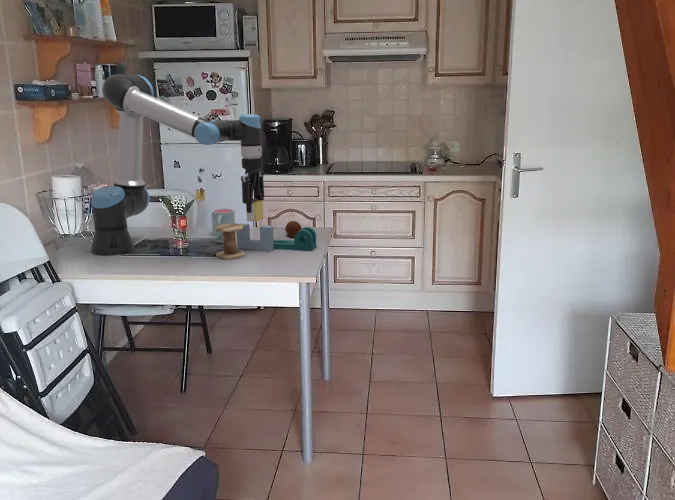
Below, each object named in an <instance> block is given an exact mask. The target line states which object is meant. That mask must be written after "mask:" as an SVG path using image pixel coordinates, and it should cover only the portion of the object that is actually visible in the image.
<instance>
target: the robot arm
mask: <svg viewBox="0 0 675 500" xmlns="http://www.w3.org/2000/svg"><path fill="white" fill-rule="evenodd" d="M101 91H102V96H103V98H104V100H105V101H106V102H107V103H108V104H109V105H110V106H112V107H114V108H115V112H116V113H117V114H118V116H119V125H118V130H119V131H118V159H117V161H118V165H117V166H118V167H117V169H118V171H117V178H115V179H114V181H113V186H106V187H101V188H97V189H95V190H94V191H93V192H92V194H91V198H90V199H91V202H90V203H91V208H92V217H93V225H94V234H93V238H92V244H91V253H92V254H95V255H99V256H113V255H120V254H121V255H122V254H125V253H126V254H127V253H129V252H132V251H133V250H134V249H135V245H134V244H135V243H134V241H133V240H132V236H131V235H130V232H129V229H128V220H127V218H130V217H134V216H137V215H139V214H141V213H143V212H145V210H147V208H148V206H149V204H150V200H151V199H150V193H149V191H148V190H147V188H146V183H145V181H144V180H143V179H142V169H143V168H142V166H143V164H142V163H143V162H142V161H143V138H144V137H143V136H144V135H143V134H144V133H143V131H144V118H147V119H150V120H152V121H155V122H157V123H158V124H162V125H164V126H166V127H168V128H170V129H174V130H176V131H178V132H180V133H183V134H185V135H187V136H190V137H192V138H194V139H195V140H196V141H197V142H198V143H199V144H201V145H204V146H211V145H214V144H217V143H222V142H240V155H241V157H242V158H241V168H242V169H244V170H245V171H244V175H242V176H240V181H241V192H242V194H241V195H242V197H241V198H242V204H243V205H245V206H246V207H245V208H246V222H252V221H254V204H252V200H253V199H257V200H259V201H264V200H265V185H264V171H261V170H260V169H261V168H263V158H262V156H263V154H262V152H263V148H262V126H261V125H262V124H261V117H260V116H259V114H255V113H254V114H251V113H249V114H247V113H246V114H240V115H239V119H235V120H234V119H233V120H232V119H213V120H209V119H205V118H204V117H202V116H199V115H197V114H194V113H193V112H191V111H188V110H186V109H183V108H182V107H181V108H180V107H178V106H176V105H174V104H170V103H168V102H166V101H164V100H162V99H159V98H157V97H155V96H154V95H155V93H154V88H153V86H152V84H151V82H150V81H149V80H148V79H147V78H146V77H145V76H142V75H139V74H129V73H128V74H126V73H125V74H120V73H117V74H112V75H110V76H108V77H107V78H106V79H105V80H104V82H103V84H102V87H101Z"/></svg>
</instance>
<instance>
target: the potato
mask: <svg viewBox="0 0 675 500" xmlns="http://www.w3.org/2000/svg"><path fill="white" fill-rule="evenodd" d="M302 228H303V227H302V226H301V224H300V223H299V222H298V221H296V220H291V221H288V222H287V223H286V225H285V227H284V230H285V233H286V234H287V235H288V236H289V237H290V238H294V237H295V234H296V233H297V232H298V231H300V230H301V229H302Z"/></svg>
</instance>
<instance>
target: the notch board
mask: <svg viewBox="0 0 675 500" xmlns="http://www.w3.org/2000/svg"><path fill="white" fill-rule="evenodd" d="M240 224H241V225H243V229H242V230H240V231H236V249H241V250H242V249H243V250H244V249H245V250H255V251H265V252H266V251H267V252H271V251H273V250H275V249H274V241H273V240H274V225H265V224H264V225H261V226H259V238H260V240H258V239H251V231H250V230H251V229H250V223H249V224H248V223H240Z"/></svg>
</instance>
